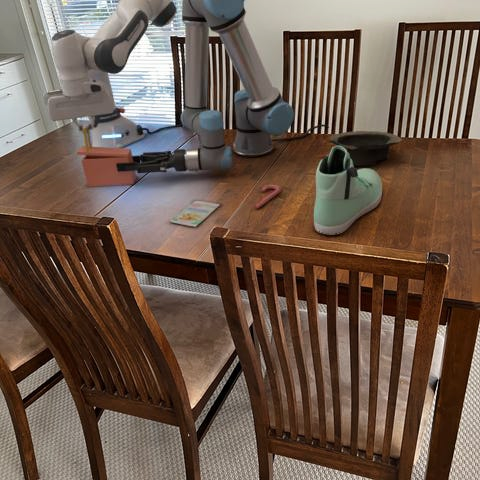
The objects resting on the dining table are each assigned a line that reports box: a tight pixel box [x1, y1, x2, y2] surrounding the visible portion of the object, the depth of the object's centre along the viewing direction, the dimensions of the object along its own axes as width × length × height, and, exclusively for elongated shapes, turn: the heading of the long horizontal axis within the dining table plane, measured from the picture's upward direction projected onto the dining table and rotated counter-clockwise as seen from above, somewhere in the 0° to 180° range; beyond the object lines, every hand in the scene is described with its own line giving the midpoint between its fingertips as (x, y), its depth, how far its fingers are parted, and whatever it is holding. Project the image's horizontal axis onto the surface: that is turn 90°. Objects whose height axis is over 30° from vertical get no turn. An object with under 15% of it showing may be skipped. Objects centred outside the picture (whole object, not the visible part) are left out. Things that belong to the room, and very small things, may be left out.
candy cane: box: [254, 184, 282, 209], centre depth 148 cm, size 6×15×2 cm, turn 145°
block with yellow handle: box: [76, 125, 132, 157], centre depth 159 cm, size 17×5×8 cm, turn 89°
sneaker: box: [313, 145, 383, 236], centre depth 133 cm, size 14×35×20 cm, turn 152°
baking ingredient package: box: [169, 199, 221, 228], centre depth 142 cm, size 9×1×15 cm
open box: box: [80, 151, 137, 188], centre depth 165 cm, size 16×5×10 cm, turn 89°
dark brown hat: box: [328, 130, 403, 167], centre depth 168 cm, size 25×25×9 cm
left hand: (86, 129), depth 158 cm, fingers closed on block with yellow handle, 2 cm apart
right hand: (119, 164), depth 164 cm, fingers closed on open box, 5 cm apart
